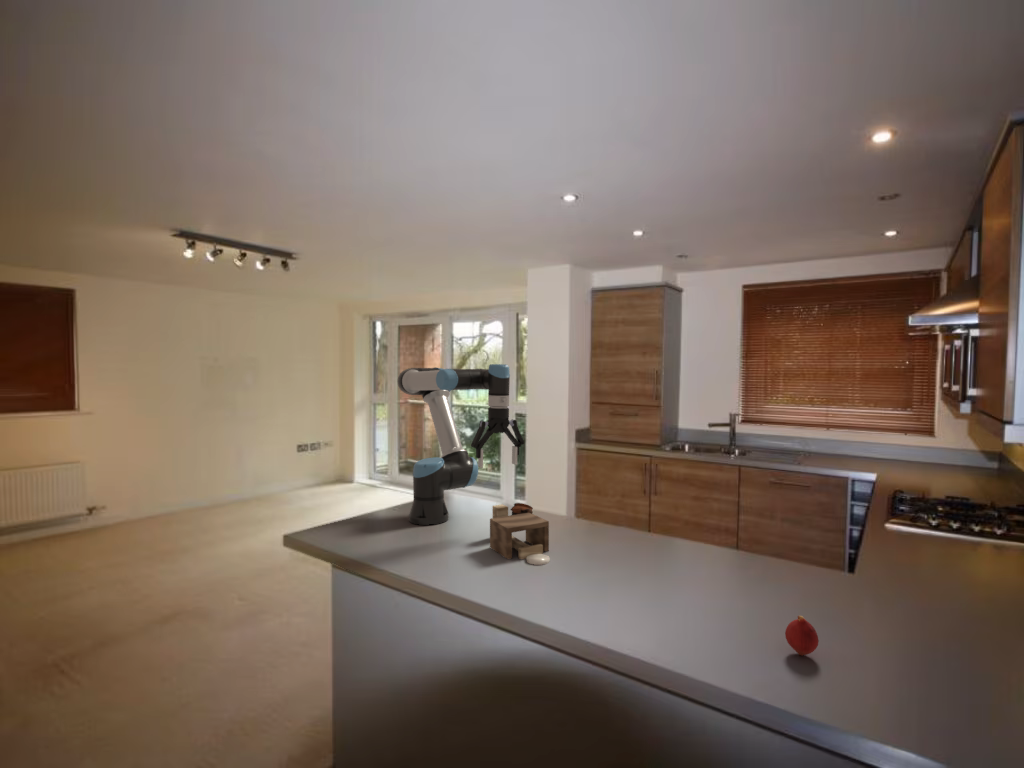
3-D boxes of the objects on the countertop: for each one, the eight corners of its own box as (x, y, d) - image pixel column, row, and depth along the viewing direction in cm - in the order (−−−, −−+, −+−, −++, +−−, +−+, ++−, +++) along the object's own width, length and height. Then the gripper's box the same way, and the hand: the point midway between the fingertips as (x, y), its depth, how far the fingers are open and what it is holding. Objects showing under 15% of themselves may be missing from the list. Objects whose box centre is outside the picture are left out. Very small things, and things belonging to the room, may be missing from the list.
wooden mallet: (487, 538, 179) (487, 506, 178) (507, 534, 182) (507, 503, 182) (520, 559, 158) (520, 523, 158) (542, 554, 162) (542, 519, 162)
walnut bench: (490, 547, 169) (489, 518, 169) (529, 540, 176) (529, 512, 176) (507, 559, 158) (507, 528, 158) (548, 550, 166) (548, 521, 166)
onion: (807, 647, 108) (807, 609, 108) (824, 662, 102) (825, 622, 102) (779, 647, 108) (780, 609, 107) (795, 663, 102) (796, 623, 102)
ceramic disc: (522, 560, 159) (522, 556, 159) (541, 556, 162) (541, 552, 162) (534, 567, 153) (534, 563, 153) (554, 563, 156) (554, 559, 156)
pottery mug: (502, 523, 198) (507, 502, 202) (521, 530, 202) (526, 510, 206) (520, 522, 189) (525, 500, 192) (540, 530, 193) (545, 508, 196)
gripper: (470, 409, 177) (469, 470, 178) (533, 407, 189) (532, 464, 190) (462, 407, 184) (461, 466, 185) (524, 405, 195) (523, 461, 196)
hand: (497, 465), depth 187 cm, fingers open, 13 cm apart
